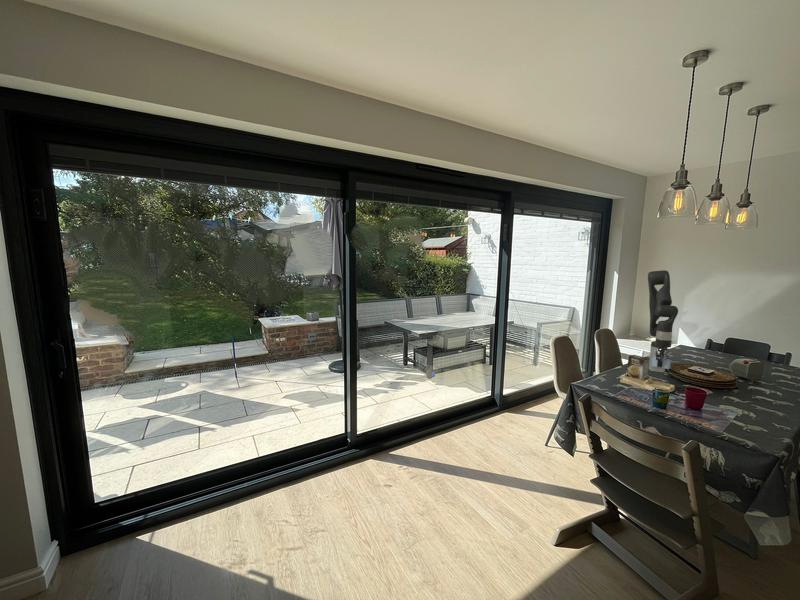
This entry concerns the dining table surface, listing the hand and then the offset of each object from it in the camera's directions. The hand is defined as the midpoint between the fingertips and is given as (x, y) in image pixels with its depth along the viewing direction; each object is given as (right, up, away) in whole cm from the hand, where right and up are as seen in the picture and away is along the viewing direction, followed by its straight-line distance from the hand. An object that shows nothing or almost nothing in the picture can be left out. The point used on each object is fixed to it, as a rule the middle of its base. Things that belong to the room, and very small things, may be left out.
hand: (660, 366), depth 198 cm
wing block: (0, 0, 0) cm, 0 cm away
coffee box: (-7, -12, +11) cm, 18 cm away
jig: (-4, -13, +7) cm, 15 cm away
